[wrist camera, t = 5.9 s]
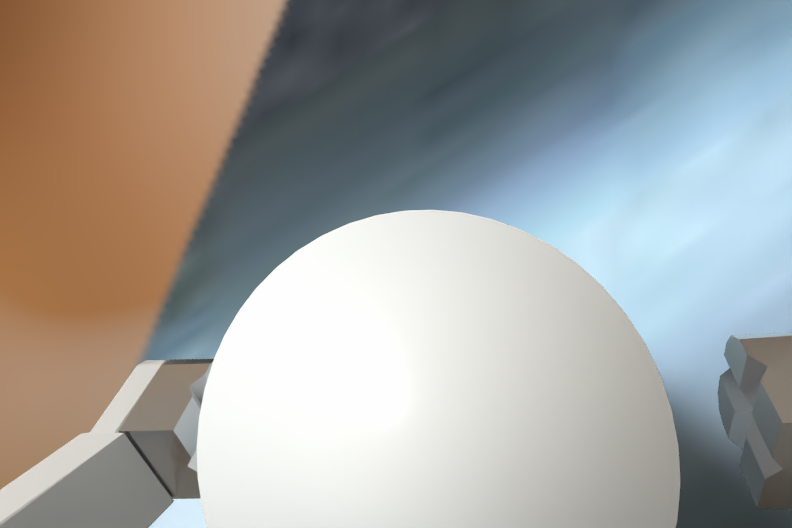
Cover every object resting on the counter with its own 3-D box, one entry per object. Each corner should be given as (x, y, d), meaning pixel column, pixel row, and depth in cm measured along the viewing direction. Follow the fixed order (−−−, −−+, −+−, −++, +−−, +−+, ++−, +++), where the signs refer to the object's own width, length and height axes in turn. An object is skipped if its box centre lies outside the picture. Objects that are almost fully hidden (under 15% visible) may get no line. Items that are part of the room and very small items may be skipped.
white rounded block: (474, 254, 14) (399, 122, 6) (634, 389, 13) (805, 444, 5) (347, 396, 15) (117, 448, 6) (492, 545, 13) (430, 849, 5)
